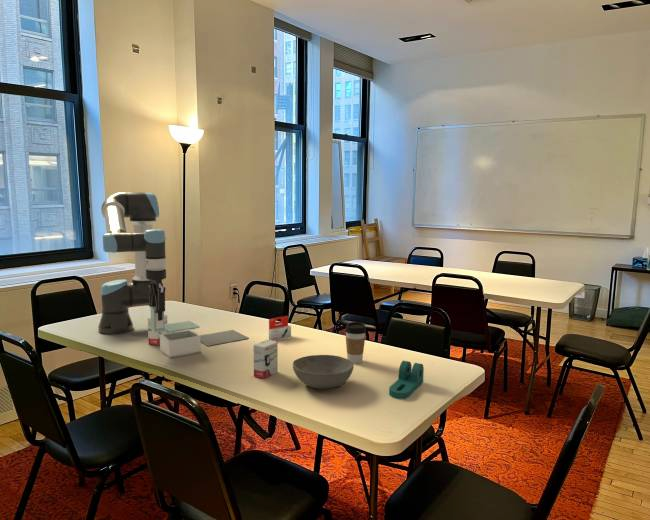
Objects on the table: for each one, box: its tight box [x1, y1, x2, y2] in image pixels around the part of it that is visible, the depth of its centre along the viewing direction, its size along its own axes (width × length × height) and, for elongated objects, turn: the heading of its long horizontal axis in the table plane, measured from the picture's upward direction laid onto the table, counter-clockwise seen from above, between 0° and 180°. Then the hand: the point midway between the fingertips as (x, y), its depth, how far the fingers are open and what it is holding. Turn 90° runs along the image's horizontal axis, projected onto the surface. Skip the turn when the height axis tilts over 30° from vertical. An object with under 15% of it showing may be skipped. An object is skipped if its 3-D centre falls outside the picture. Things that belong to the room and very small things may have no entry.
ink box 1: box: [147, 313, 169, 346], centre depth 216 cm, size 9×5×12 cm, turn 168°
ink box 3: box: [268, 315, 292, 342], centre depth 225 cm, size 2×11×10 cm, turn 131°
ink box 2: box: [253, 339, 279, 380], centre depth 180 cm, size 9×5×12 cm, turn 148°
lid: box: [149, 306, 201, 333], centre depth 201 cm, size 11×17×10 cm, turn 127°
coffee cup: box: [344, 321, 367, 365], centre depth 195 cm, size 8×8×15 cm
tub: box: [159, 329, 202, 359], centre depth 204 cm, size 11×13×7 cm
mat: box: [199, 329, 250, 347], centre depth 224 cm, size 16×20×1 cm
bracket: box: [388, 360, 425, 400], centre depth 169 cm, size 18×7×8 cm, turn 151°
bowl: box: [292, 354, 355, 390], centre depth 171 cm, size 21×21×8 cm
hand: (157, 326), depth 197 cm, fingers closed on lid, 4 cm apart
